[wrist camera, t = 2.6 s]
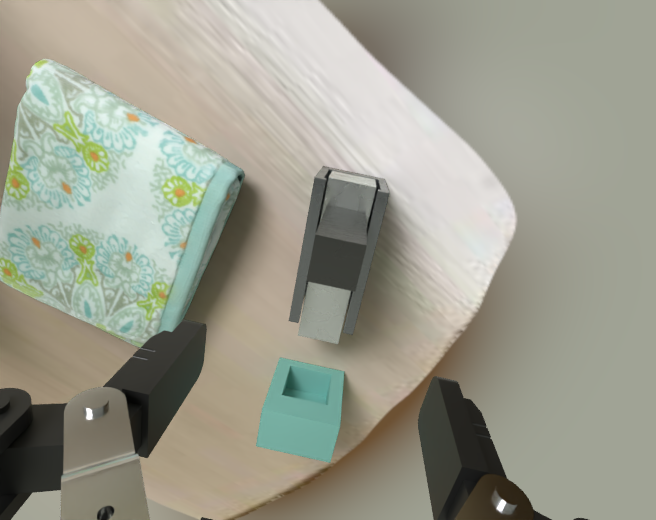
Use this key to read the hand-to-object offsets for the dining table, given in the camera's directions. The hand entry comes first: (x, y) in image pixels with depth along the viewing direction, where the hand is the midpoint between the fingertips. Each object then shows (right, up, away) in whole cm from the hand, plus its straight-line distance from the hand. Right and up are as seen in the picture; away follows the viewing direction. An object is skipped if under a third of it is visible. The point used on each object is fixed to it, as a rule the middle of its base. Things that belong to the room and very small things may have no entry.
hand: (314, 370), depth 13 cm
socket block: (-2, -9, +28) cm, 29 cm away
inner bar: (+1, +5, +21) cm, 21 cm away
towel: (-19, +8, +23) cm, 31 cm away
